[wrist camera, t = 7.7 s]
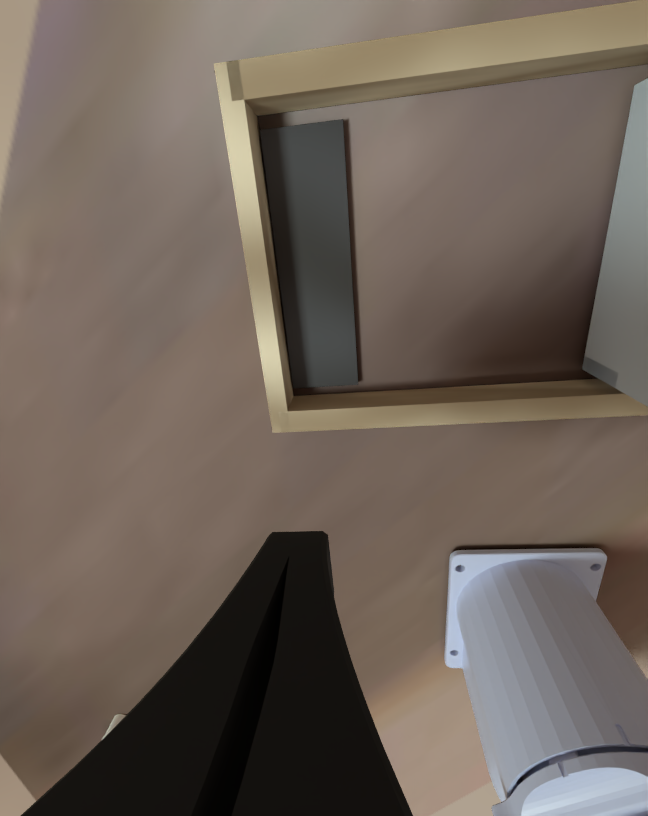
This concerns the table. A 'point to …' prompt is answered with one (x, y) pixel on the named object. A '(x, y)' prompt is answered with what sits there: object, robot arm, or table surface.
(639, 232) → the tray
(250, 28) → the table surface
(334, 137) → the channel
